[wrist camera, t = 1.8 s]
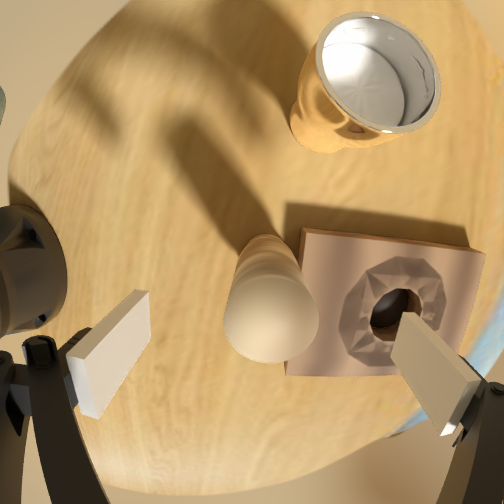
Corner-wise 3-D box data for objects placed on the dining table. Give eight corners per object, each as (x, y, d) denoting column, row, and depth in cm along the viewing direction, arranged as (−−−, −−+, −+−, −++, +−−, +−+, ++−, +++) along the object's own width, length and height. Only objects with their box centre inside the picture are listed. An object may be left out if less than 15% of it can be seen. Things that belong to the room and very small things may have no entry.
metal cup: (282, 154, 27) (308, 125, 12) (286, 82, 25) (311, -4, 10) (356, 162, 27) (446, 150, 12) (358, 92, 25) (438, 29, 10)
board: (283, 359, 31) (285, 375, 28) (301, 227, 28) (306, 232, 25) (439, 357, 31) (450, 370, 28) (470, 247, 28) (486, 254, 25)
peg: (238, 278, 29) (221, 359, 16) (242, 228, 28) (226, 274, 15) (288, 282, 29) (310, 365, 16) (294, 233, 28) (326, 282, 15)
